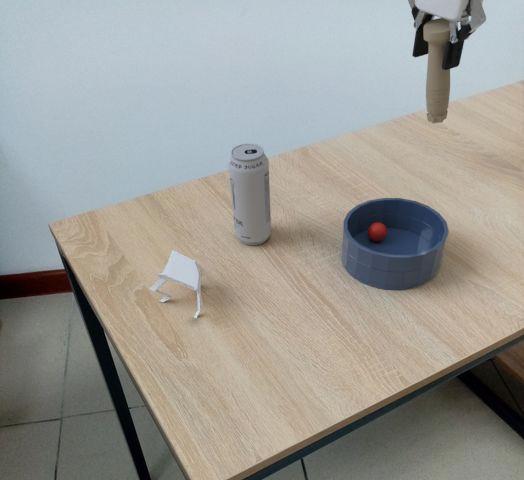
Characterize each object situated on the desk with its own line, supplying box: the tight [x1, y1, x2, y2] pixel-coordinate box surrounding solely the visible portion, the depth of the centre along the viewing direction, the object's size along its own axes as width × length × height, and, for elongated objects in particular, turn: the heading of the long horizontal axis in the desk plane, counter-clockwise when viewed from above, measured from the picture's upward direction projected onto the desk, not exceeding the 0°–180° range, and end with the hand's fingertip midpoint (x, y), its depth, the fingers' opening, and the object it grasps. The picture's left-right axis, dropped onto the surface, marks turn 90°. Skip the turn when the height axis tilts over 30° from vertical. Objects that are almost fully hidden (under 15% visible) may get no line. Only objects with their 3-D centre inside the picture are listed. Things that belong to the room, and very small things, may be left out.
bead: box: [368, 222, 387, 242], centre depth 84 cm, size 3×3×3 cm
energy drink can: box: [227, 143, 272, 246], centre depth 83 cm, size 6×6×15 cm
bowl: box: [340, 197, 450, 291], centre depth 81 cm, size 15×15×6 cm
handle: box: [423, 17, 451, 124], centre depth 88 cm, size 5×6×15 cm
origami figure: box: [148, 248, 205, 319], centre depth 77 cm, size 12×8×5 cm
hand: (435, 60), depth 86 cm, fingers closed on handle, 6 cm apart
